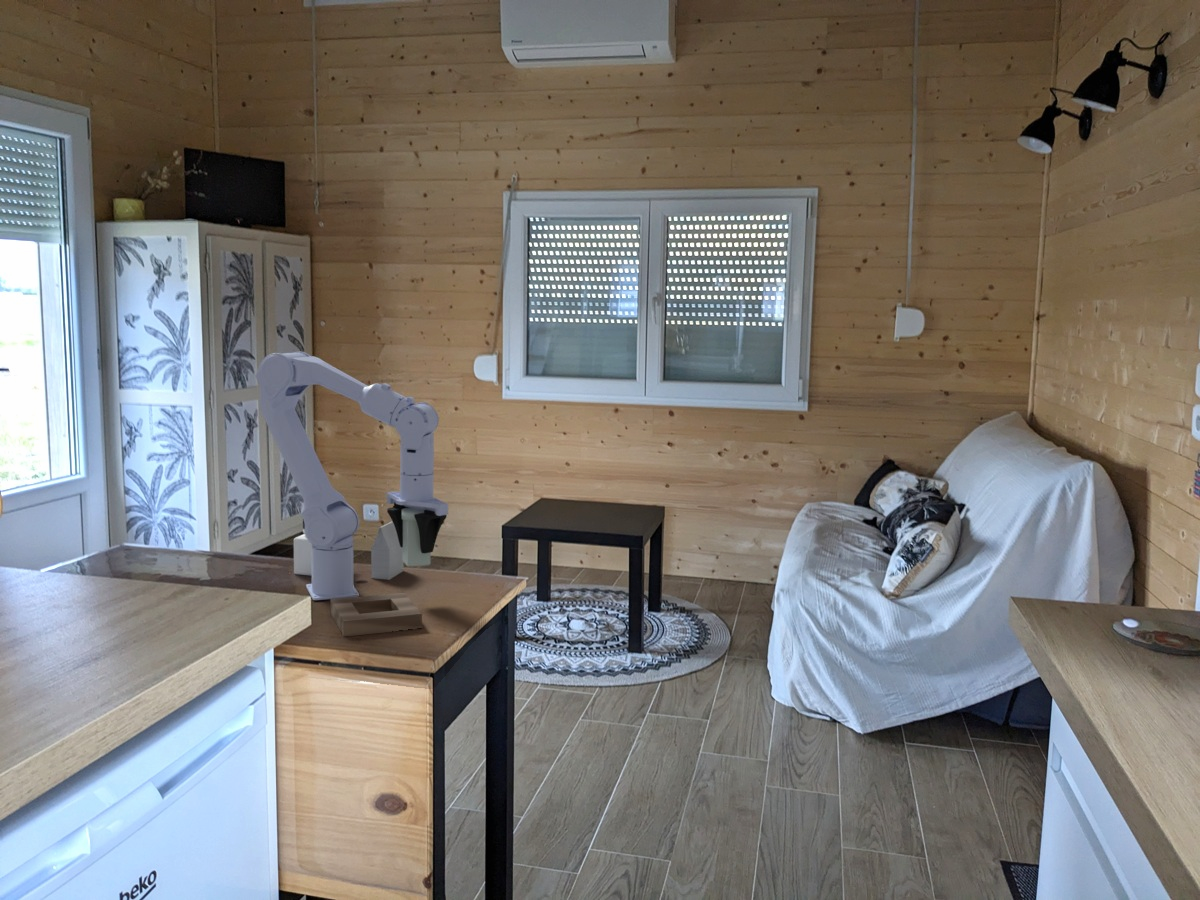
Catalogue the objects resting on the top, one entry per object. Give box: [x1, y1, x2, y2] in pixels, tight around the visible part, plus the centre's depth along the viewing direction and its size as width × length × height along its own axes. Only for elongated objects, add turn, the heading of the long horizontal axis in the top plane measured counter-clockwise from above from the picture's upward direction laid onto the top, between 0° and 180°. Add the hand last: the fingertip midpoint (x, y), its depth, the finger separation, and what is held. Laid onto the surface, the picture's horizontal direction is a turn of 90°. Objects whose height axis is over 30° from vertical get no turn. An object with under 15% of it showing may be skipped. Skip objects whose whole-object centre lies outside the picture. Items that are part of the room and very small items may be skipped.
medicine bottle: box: [293, 519, 312, 577], centre depth 192 cm, size 7×7×12 cm
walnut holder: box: [330, 592, 423, 637], centre depth 164 cm, size 12×12×2 cm
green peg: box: [402, 507, 432, 567], centre depth 174 cm, size 5×5×10 cm
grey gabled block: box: [370, 521, 404, 580], centre depth 192 cm, size 4×7×10 cm, turn 168°
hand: (416, 549), depth 175 cm, fingers closed on green peg, 5 cm apart
